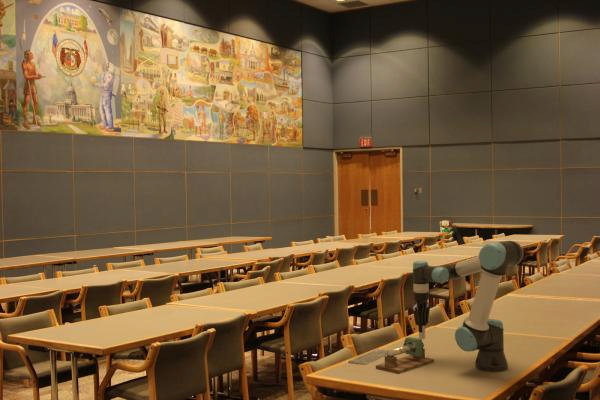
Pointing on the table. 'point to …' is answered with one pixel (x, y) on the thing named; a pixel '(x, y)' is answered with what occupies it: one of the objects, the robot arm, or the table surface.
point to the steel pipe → (401, 350)
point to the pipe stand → (404, 363)
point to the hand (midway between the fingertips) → (422, 338)
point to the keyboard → (369, 357)
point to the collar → (417, 343)
